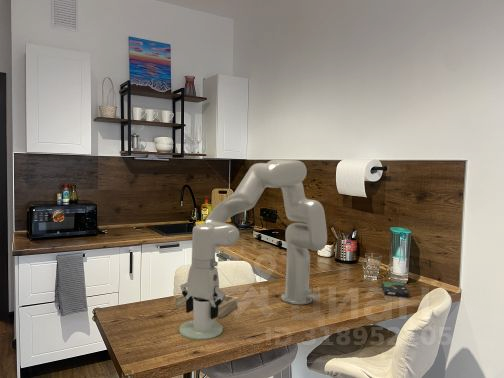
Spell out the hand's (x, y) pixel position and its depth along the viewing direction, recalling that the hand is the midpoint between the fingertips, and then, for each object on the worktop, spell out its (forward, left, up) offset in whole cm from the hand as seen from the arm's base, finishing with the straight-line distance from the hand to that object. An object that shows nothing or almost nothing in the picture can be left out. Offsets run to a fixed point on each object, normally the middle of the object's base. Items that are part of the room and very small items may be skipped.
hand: (201, 314), depth 131 cm
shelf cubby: (+10, -18, -5) cm, 21 cm away
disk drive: (-48, -82, -6) cm, 95 cm away
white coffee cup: (-1, 0, -5) cm, 5 cm away
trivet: (0, 0, -5) cm, 5 cm away
